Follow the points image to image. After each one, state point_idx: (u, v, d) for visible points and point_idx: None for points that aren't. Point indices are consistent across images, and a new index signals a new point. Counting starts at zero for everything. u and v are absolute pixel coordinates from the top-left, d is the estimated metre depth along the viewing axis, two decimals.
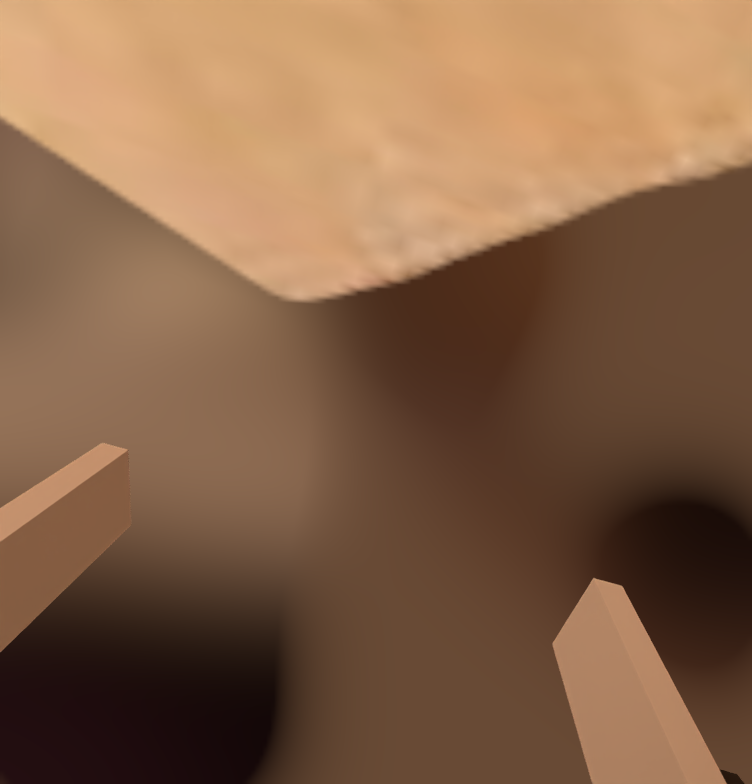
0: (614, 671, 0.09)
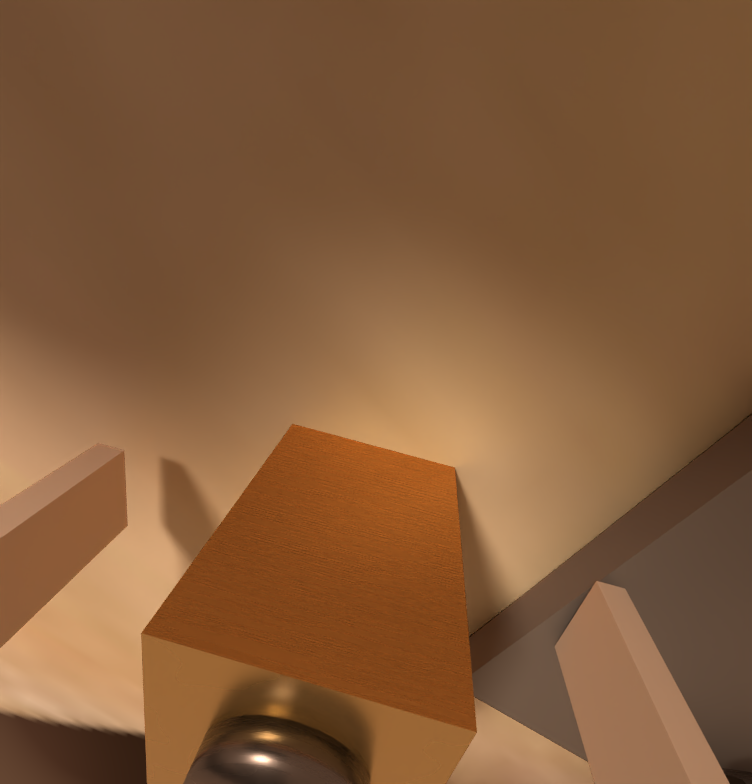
0: (618, 675, 0.09)
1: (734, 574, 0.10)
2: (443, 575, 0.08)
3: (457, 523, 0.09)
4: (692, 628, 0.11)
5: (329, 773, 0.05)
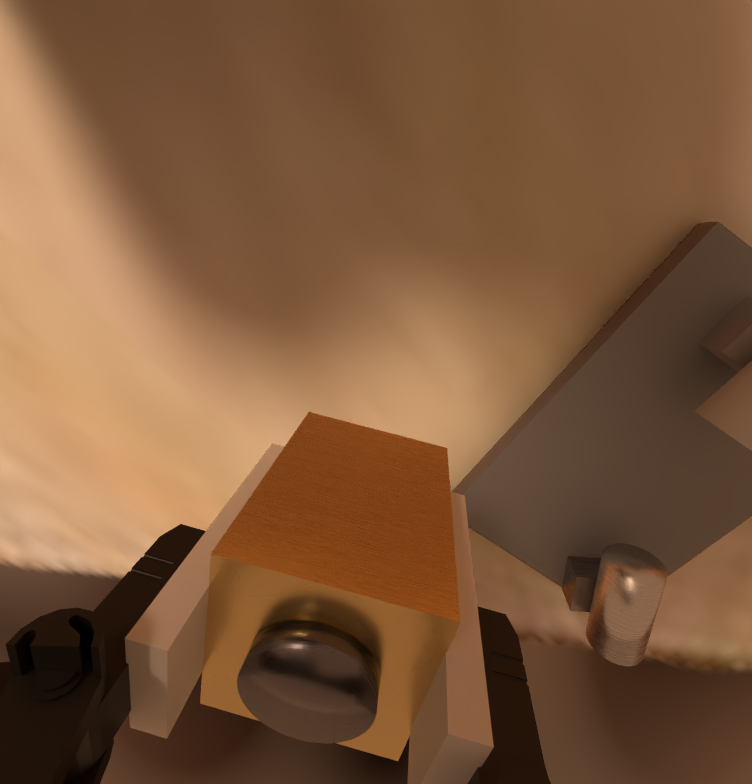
0: None
1: (584, 425, 0.19)
2: (436, 525, 0.09)
3: (448, 489, 0.11)
4: (568, 460, 0.20)
5: (351, 657, 0.07)
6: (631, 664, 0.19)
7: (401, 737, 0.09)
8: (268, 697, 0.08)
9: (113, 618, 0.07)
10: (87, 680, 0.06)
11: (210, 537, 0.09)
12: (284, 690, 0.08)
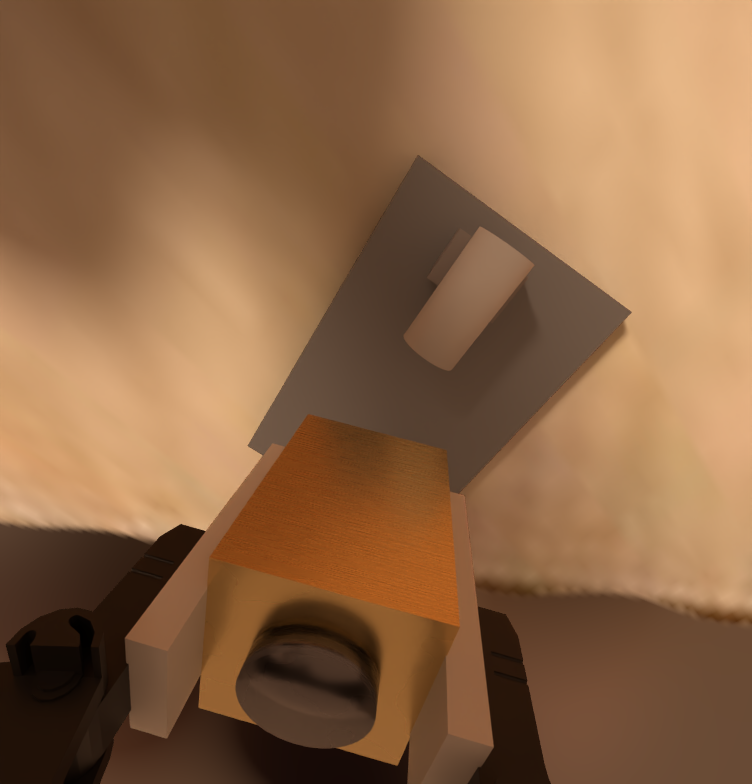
0: None
1: (347, 357, 0.21)
2: (436, 528, 0.09)
3: (448, 492, 0.11)
4: (341, 392, 0.22)
5: (350, 662, 0.07)
6: None
7: (400, 742, 0.09)
8: (267, 702, 0.08)
9: (114, 617, 0.07)
10: (87, 680, 0.06)
11: (210, 537, 0.09)
12: (283, 695, 0.08)
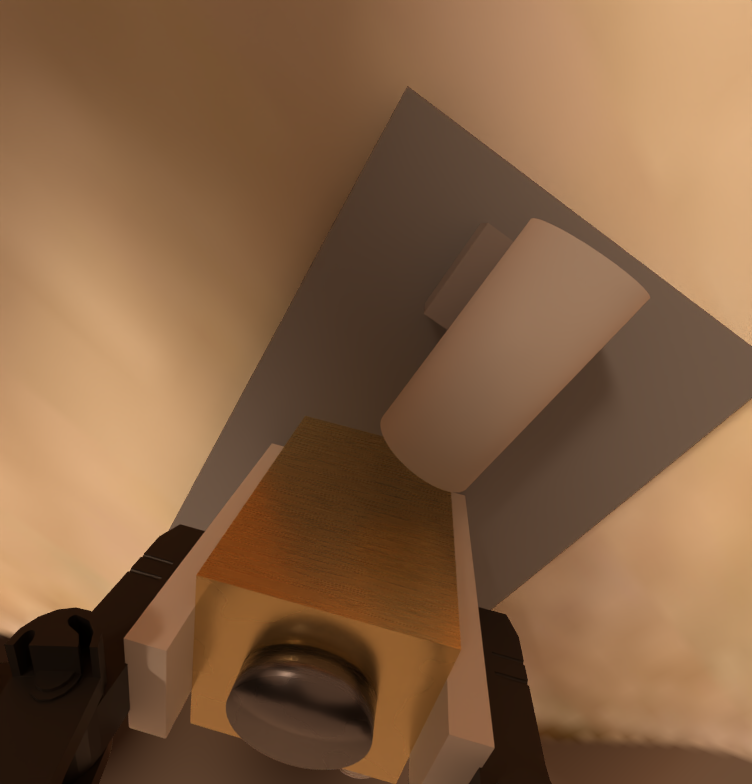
0: None
1: None
2: (436, 539, 0.09)
3: (449, 499, 0.10)
4: None
5: (345, 685, 0.07)
6: (366, 776, 0.13)
7: (399, 761, 0.08)
8: (258, 723, 0.07)
9: (113, 618, 0.07)
10: (86, 680, 0.06)
11: (209, 537, 0.09)
12: (275, 717, 0.07)
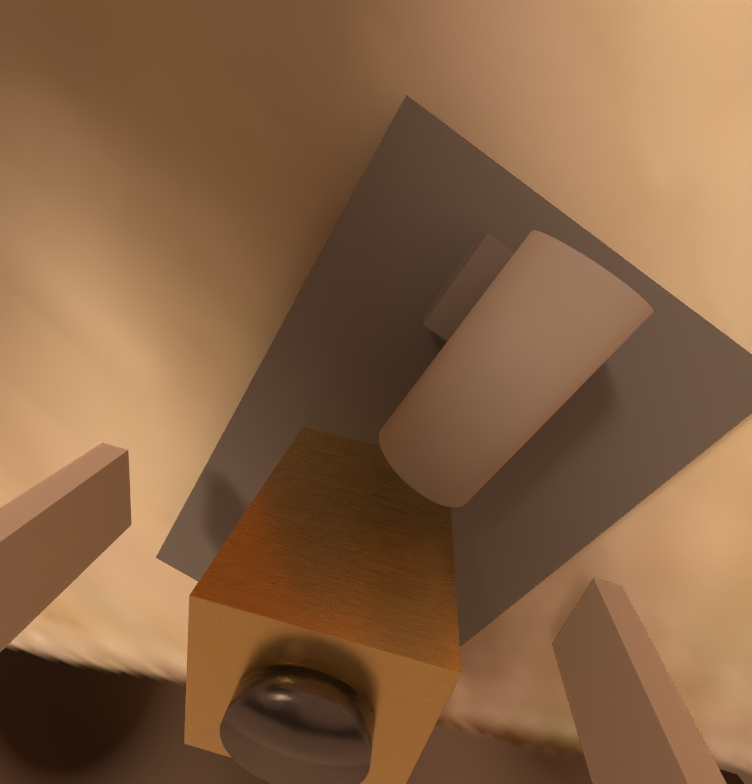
0: (614, 671, 0.09)
1: None
2: (436, 554, 0.09)
3: (449, 512, 0.10)
4: None
5: (342, 709, 0.07)
6: None
7: None
8: (253, 747, 0.07)
9: None
10: None
11: None
12: (270, 741, 0.07)
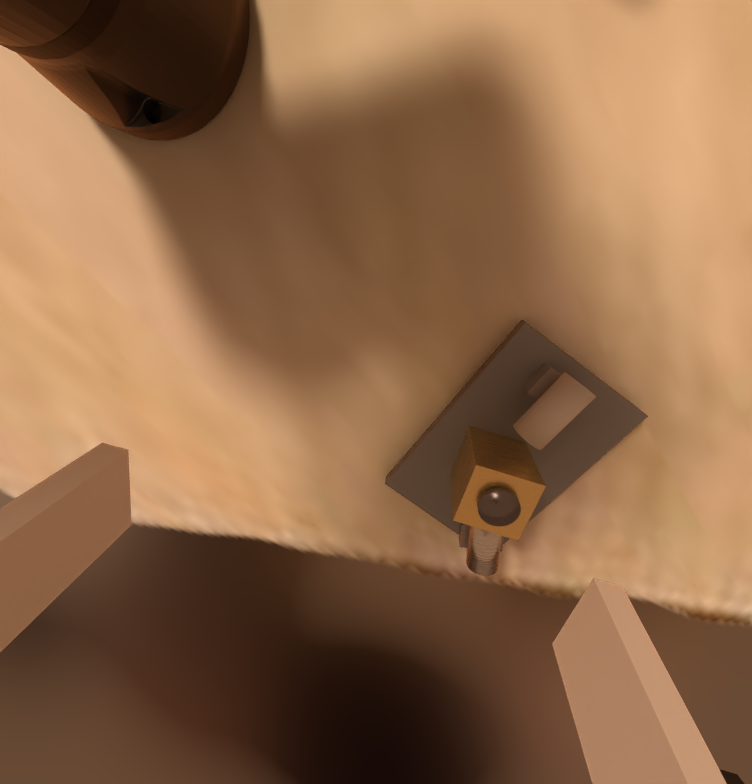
0: (614, 670, 0.09)
1: (464, 431, 0.32)
2: (531, 465, 0.28)
3: (531, 456, 0.30)
4: (457, 452, 0.33)
5: (514, 495, 0.26)
6: (487, 575, 0.32)
7: (521, 530, 0.27)
8: (487, 509, 0.27)
9: None
10: None
11: None
12: (493, 506, 0.26)
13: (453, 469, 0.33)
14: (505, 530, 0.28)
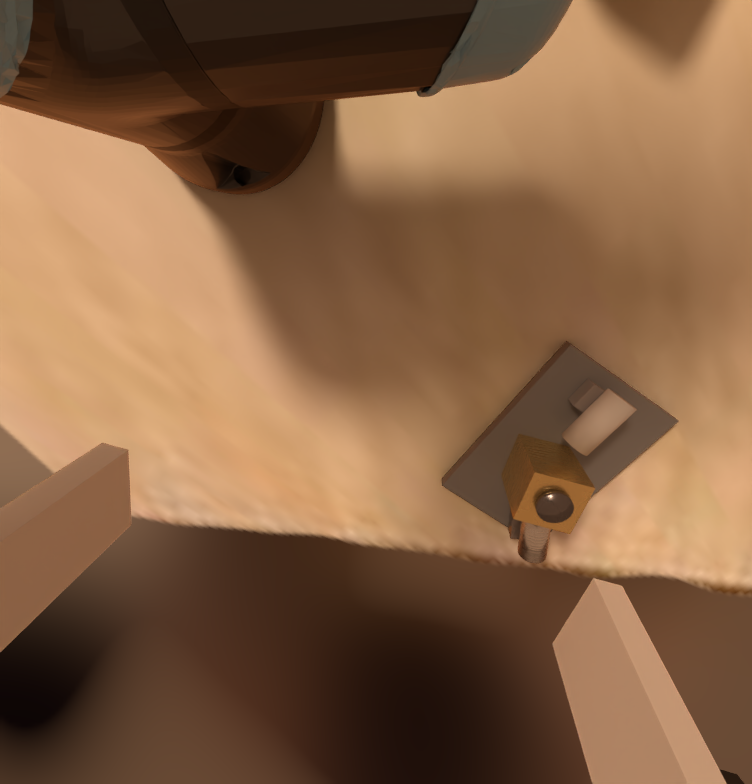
0: (614, 671, 0.09)
1: (514, 438, 0.37)
2: (579, 469, 0.33)
3: (577, 460, 0.34)
4: (507, 456, 0.38)
5: (568, 497, 0.31)
6: (538, 562, 0.37)
7: (572, 525, 0.32)
8: (544, 509, 0.31)
9: None
10: None
11: None
12: (549, 506, 0.31)
13: (504, 472, 0.38)
14: (559, 525, 0.32)
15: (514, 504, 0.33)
